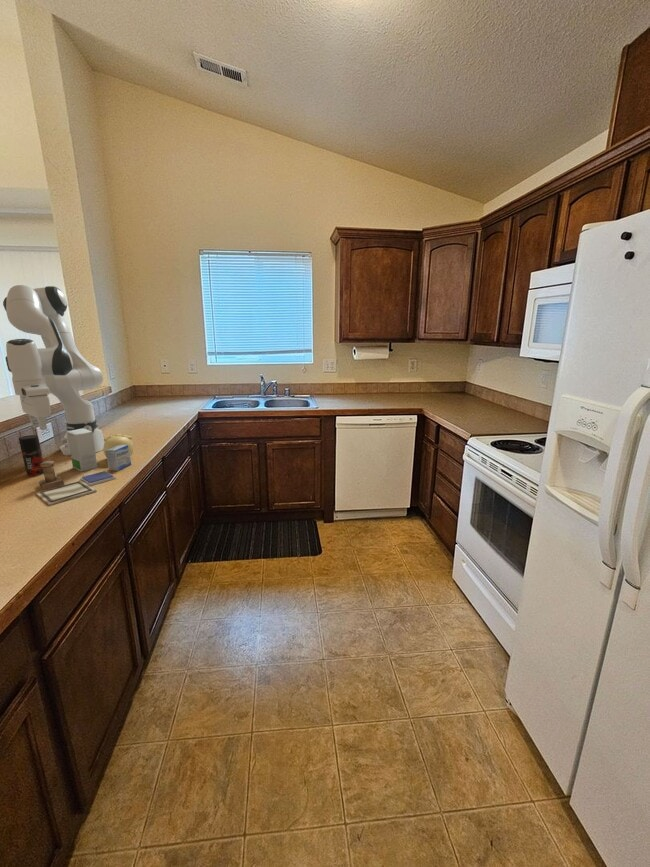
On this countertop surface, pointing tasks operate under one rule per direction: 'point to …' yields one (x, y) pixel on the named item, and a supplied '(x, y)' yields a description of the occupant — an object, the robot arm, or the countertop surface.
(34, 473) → the deodorant
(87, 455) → the skincare box
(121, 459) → the medicine box
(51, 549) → the countertop surface
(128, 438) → the sculpture
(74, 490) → the marked board
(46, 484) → the stamp
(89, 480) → the ink pad
